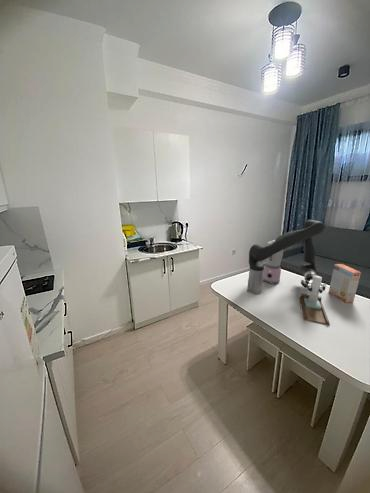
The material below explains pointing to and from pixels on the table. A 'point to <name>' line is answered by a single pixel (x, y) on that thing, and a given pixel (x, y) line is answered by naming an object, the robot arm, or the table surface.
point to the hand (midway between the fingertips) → (315, 290)
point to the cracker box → (344, 282)
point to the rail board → (313, 312)
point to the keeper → (314, 294)
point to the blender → (272, 267)
